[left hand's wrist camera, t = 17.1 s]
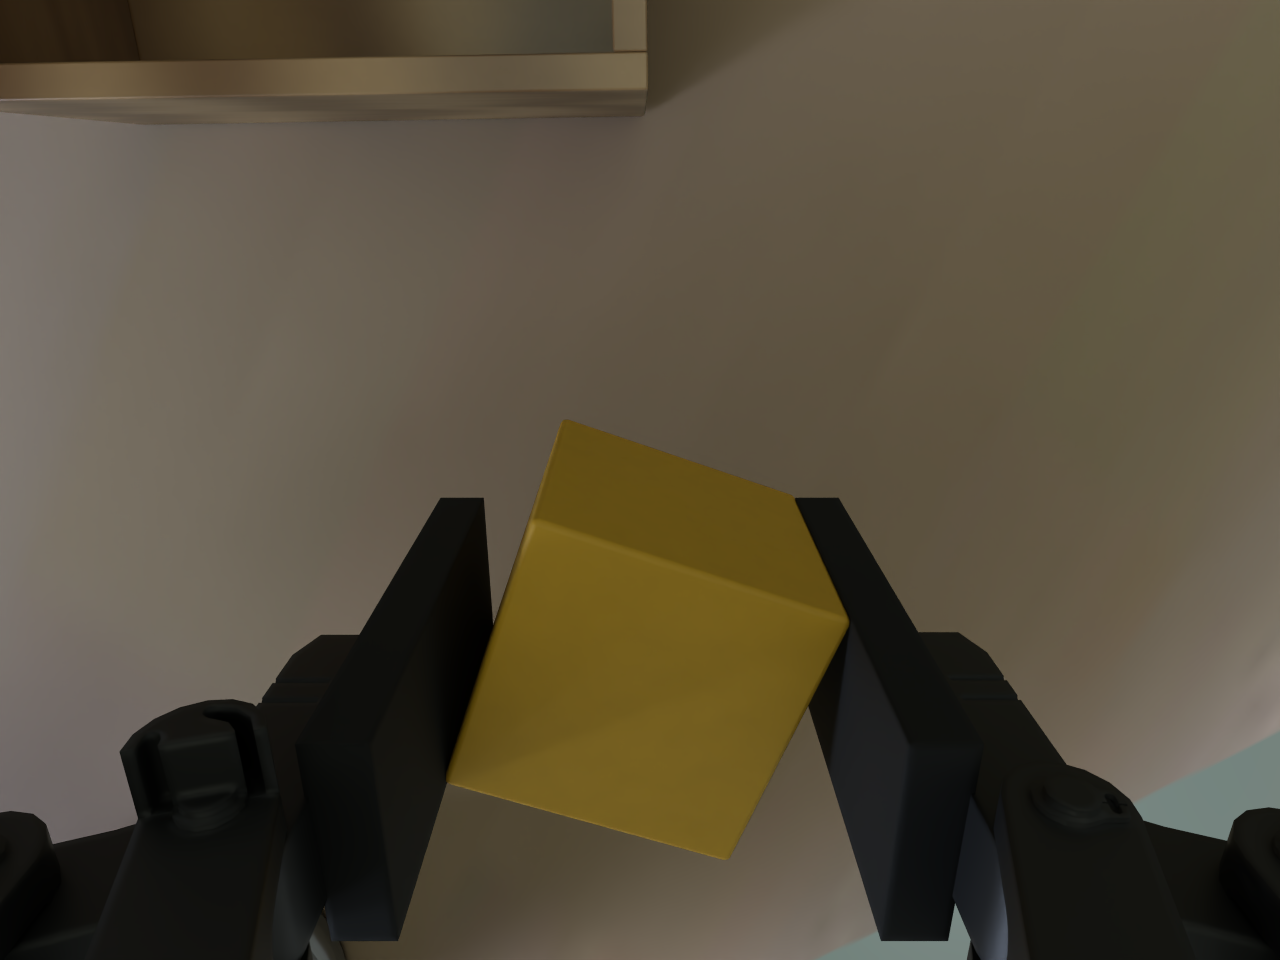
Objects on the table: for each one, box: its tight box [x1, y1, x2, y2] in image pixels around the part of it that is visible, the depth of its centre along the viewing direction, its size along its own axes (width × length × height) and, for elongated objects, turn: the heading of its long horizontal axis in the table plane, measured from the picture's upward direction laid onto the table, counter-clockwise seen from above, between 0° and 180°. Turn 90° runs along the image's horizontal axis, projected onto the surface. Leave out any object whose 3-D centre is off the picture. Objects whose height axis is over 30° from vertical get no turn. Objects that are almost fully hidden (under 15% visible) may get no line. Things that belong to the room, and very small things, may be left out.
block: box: [446, 420, 850, 860], centre depth 13 cm, size 4×4×4 cm
